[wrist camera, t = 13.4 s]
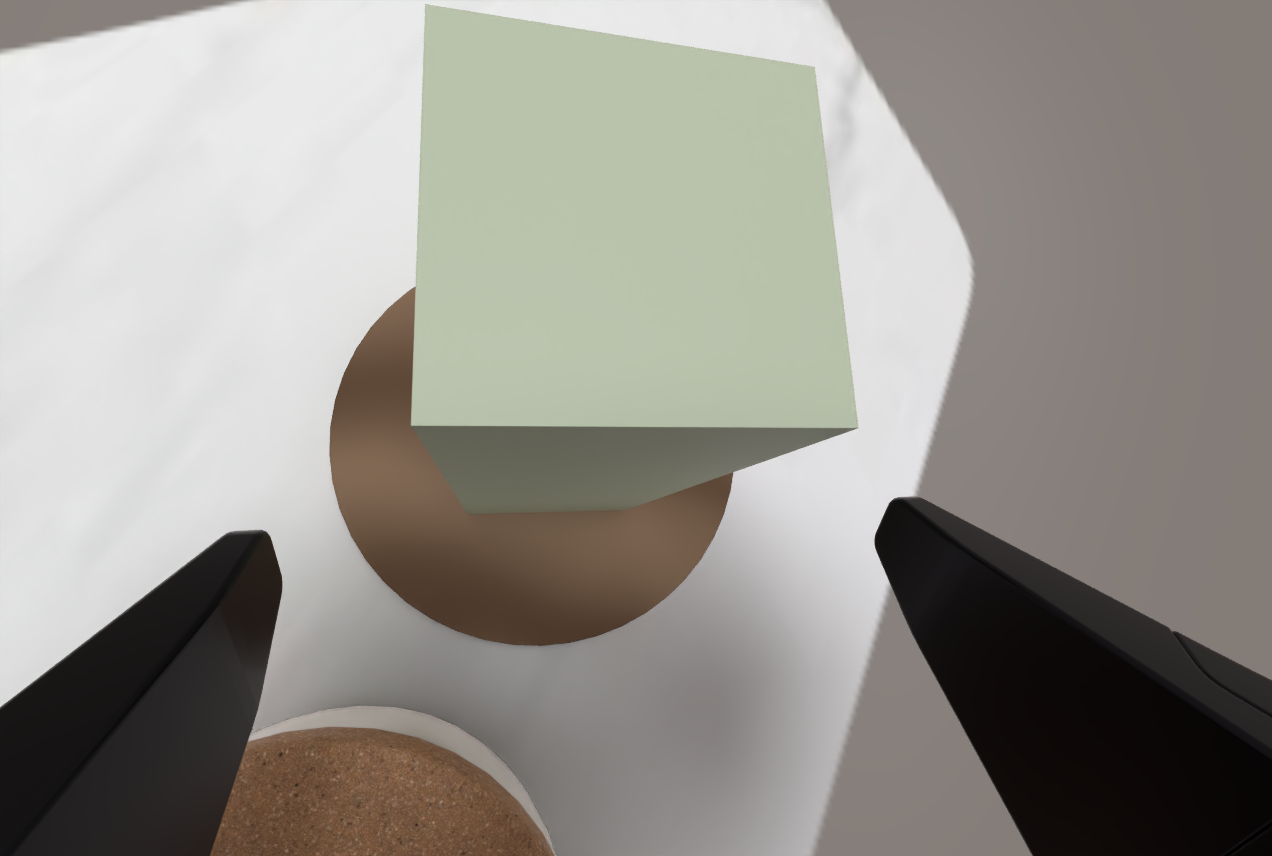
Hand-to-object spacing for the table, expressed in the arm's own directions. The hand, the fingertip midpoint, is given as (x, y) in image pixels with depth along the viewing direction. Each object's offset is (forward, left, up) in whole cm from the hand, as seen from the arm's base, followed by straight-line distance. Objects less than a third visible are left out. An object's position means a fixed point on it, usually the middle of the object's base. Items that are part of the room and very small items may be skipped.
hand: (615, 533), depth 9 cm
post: (+4, +1, -10) cm, 11 cm away
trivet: (+4, +1, -12) cm, 13 cm away
